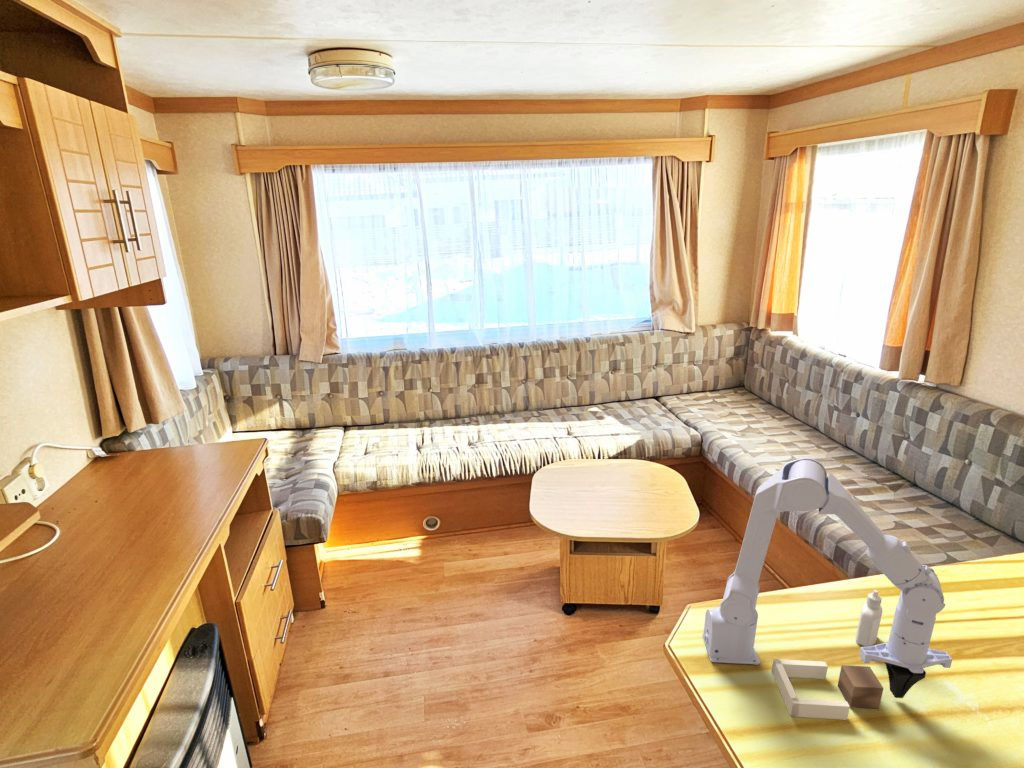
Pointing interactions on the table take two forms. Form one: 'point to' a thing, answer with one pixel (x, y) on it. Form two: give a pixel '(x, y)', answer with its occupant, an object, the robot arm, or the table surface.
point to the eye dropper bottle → (869, 620)
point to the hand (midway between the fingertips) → (896, 693)
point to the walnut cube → (860, 687)
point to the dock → (801, 705)
